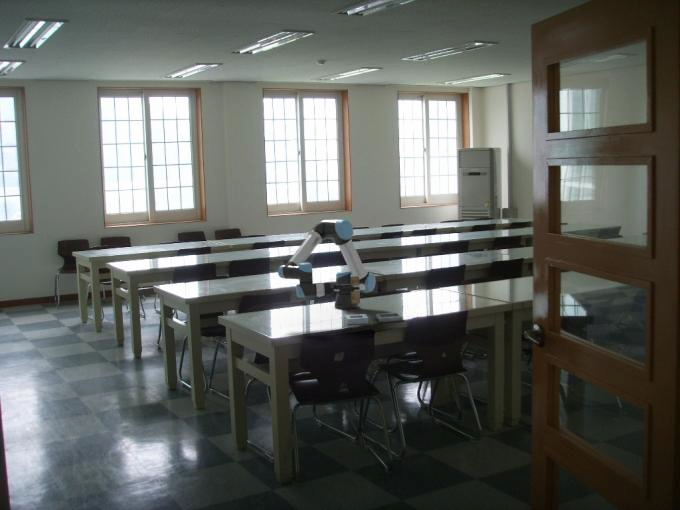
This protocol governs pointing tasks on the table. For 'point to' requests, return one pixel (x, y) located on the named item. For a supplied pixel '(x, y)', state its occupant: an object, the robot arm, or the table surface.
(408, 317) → the table surface
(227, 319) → the table surface
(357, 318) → the socket block
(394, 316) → the tray
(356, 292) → the dowel
